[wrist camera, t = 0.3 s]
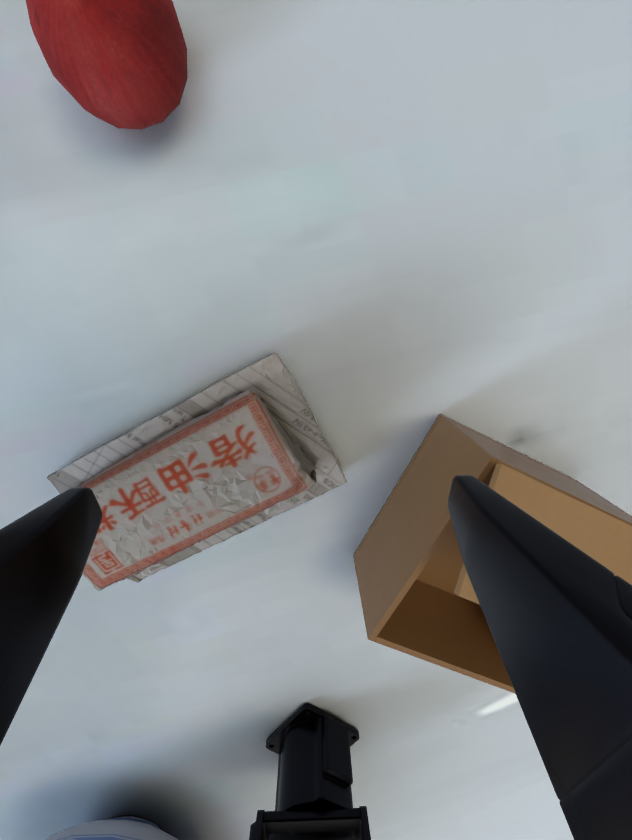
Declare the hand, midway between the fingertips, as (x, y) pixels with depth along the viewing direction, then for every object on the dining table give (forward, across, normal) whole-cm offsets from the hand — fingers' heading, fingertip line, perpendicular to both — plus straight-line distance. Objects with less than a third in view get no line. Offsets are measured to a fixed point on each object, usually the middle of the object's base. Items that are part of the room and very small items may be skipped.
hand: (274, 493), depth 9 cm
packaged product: (+14, +7, +10) cm, 18 cm away
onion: (+19, +7, -11) cm, 23 cm away
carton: (+12, -12, +14) cm, 22 cm away
